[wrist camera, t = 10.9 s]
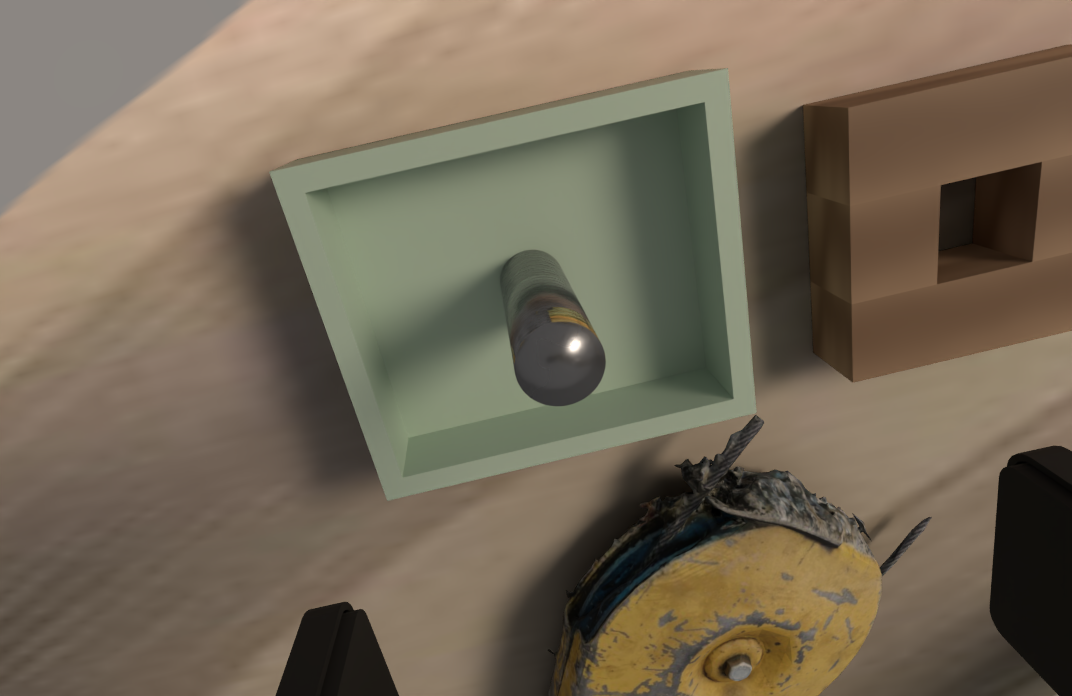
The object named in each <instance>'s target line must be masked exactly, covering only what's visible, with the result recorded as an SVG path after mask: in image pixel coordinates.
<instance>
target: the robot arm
mask: <svg viewBox="0 0 1072 696" xmlns="http://www.w3.org/2000/svg"><path fill="white" fill-rule="evenodd" d="M990 614H991V617H992V620H993V622H994V624H995V626H996V628H997V630H998V631H999V632H1000V634H1001V635H1002V636H1003V637H1004V638H1005V639H1006V640H1007V642H1008V643H1009V644H1010V645H1011V646H1012V647H1013V648H1014V649H1015V650H1016V651H1017V652H1018V653H1019V654H1020V655H1021V656H1022V657H1023V658H1024V659H1025V660H1026V661H1027V662H1028V664H1029V665H1030V666H1031V667H1032V668H1033V669H1034V670H1035V671H1036V672H1037V673H1038V674H1039V675H1040V676H1041V677H1042V678H1043V679H1044V680H1045V681H1046V682H1047V683H1048V684H1049V686H1050V687H1051V688H1052V689H1053V690H1054V691H1055V692H1056V693H1057V694H1058V695H1059V696H1072V451H1070V450H1068V449H1066V448H1064V447H1062V446H1050V447H1046V448H1041V449H1037V450H1032V451H1027V452H1023V453H1018V454H1015V455H1013V456H1012V457H1011V458H1010V459H1009V460H1008V464H1007V467H1005V468H1003V469H1002V470H1001V472H1000V475H999V485H998V499H997V513H996V527H995V541H994V555H993V568H992V582H991V596H990ZM276 696H399V695H398V692H397V690H396V687H395V685H394V682H393V680H392V677H391V674H390V672H389V669H388V667H387V664H386V662H385V659H384V657H383V654H382V652H381V649H380V647H379V644H378V642H377V639H376V637H375V634H374V632H373V629H372V627H371V624H370V622H369V619H368V617H367V615H366V613H365V611H364V610H363V609H359V610H353V608H352V606H351V605H350V604H349V603H348V602H342V603H337V604H333V605H328V606H324V607H319V608H315V609H310V610H308V611H307V612H305V614H304V616H303V618H302V621H301V624H300V627H299V629H298V632H297V635H296V638H295V641H294V644H293V647H292V650H291V653H290V656H289V658H288V661H287V664H286V667H285V670H284V673H283V676H282V679H281V682H280V685H279V687H278V690H277V693H276Z"/></svg>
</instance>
